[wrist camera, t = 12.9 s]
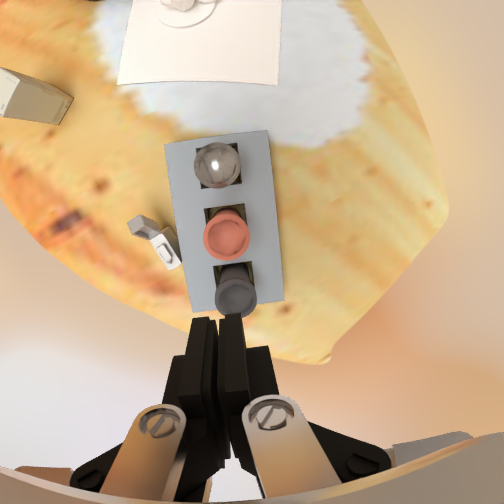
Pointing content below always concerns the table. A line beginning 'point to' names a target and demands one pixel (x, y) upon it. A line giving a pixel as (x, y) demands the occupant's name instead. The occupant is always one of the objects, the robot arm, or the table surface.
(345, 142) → the table surface
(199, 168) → the plug grey
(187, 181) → the socket board
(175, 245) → the grey white bent piece
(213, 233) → the plug red
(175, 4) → the teacup and saucer
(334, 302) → the table surface
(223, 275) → the plug black
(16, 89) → the skincare box
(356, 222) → the table surface
